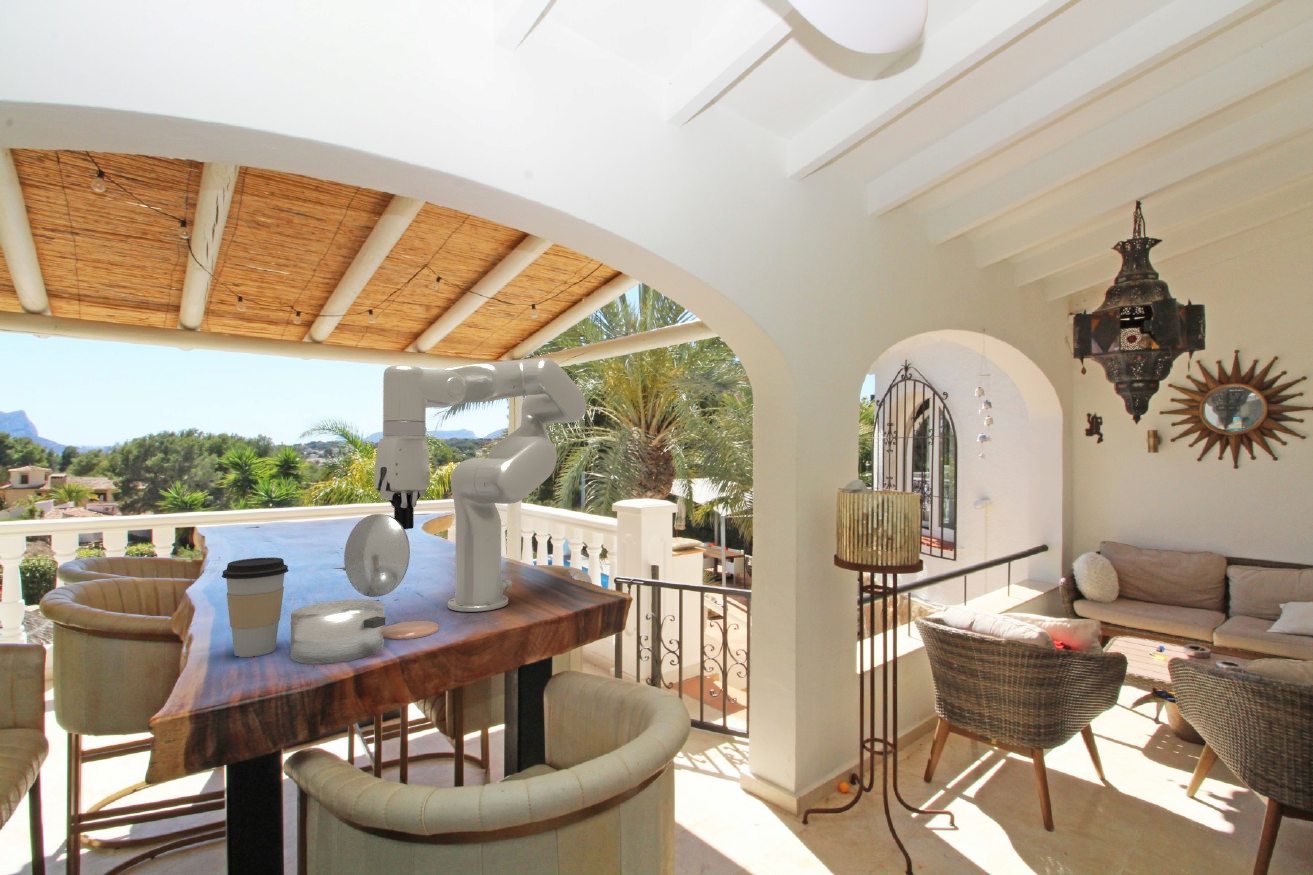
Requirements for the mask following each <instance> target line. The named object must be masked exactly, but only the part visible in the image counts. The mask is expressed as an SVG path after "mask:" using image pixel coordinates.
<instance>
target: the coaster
mask: <svg viewBox="0 0 1313 875" xmlns="http://www.w3.org/2000/svg"><path fill="white" fill-rule="evenodd" d="M439 626H440V625H439V624H438V623H437V622H434V621H429V620H415V621H414V620H412V621H402V622H398V623H397V622H396V623H393V624H389V625H387V626H386V625H385V626H384V639H388V640H411V639H419V638H425V637H428V636H431V635H433V634H435V633H437V632H438V631H439Z"/></svg>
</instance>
